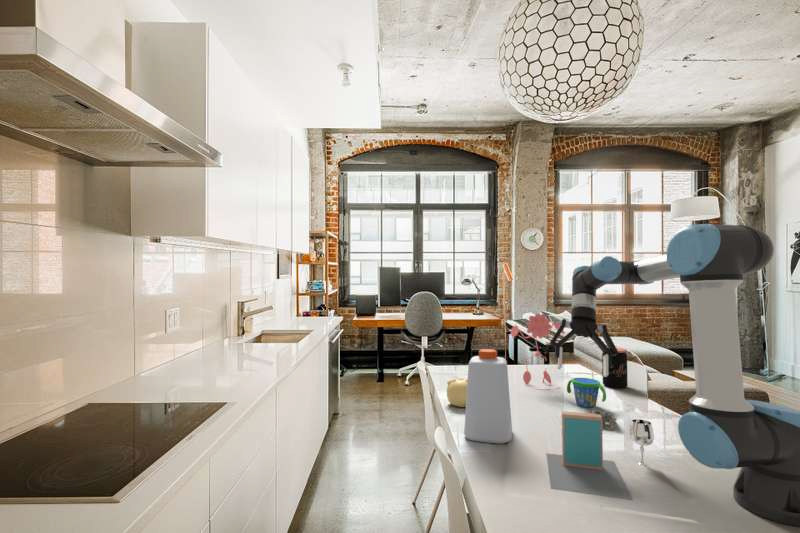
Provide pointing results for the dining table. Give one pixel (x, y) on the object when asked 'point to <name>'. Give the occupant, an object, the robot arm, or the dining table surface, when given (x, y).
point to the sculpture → (457, 392)
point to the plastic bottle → (488, 399)
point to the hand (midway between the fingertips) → (582, 371)
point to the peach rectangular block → (582, 440)
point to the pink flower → (540, 329)
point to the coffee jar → (617, 371)
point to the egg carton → (606, 417)
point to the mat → (587, 478)
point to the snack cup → (586, 391)
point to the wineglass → (641, 434)
